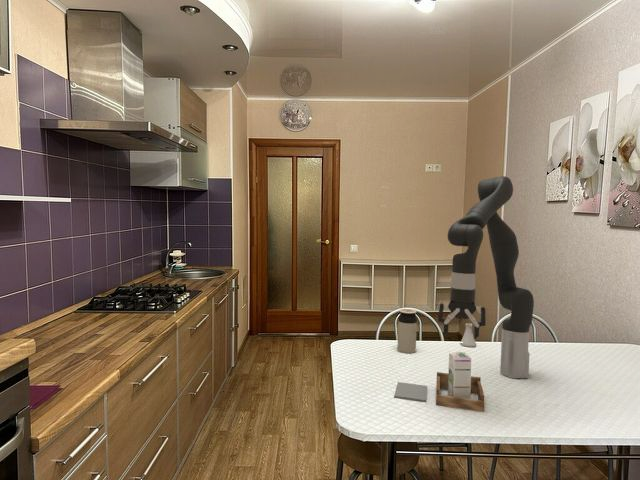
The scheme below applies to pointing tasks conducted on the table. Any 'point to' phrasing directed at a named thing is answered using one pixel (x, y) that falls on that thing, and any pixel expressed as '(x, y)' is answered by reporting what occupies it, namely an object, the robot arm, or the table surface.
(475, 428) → the table surface
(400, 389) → the mat
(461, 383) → the syrup box
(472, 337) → the flask
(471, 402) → the frame
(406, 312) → the travel mug
